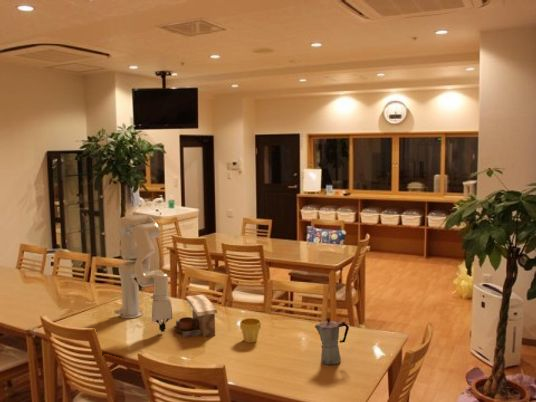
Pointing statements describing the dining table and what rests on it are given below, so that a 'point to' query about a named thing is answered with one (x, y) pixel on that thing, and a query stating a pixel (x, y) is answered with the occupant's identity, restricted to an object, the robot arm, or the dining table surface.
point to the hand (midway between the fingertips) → (162, 330)
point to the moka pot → (330, 340)
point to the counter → (201, 316)
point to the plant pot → (250, 329)
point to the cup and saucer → (186, 325)
